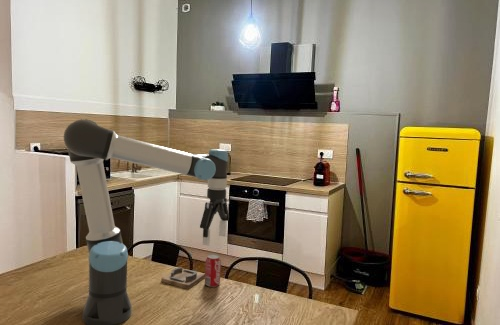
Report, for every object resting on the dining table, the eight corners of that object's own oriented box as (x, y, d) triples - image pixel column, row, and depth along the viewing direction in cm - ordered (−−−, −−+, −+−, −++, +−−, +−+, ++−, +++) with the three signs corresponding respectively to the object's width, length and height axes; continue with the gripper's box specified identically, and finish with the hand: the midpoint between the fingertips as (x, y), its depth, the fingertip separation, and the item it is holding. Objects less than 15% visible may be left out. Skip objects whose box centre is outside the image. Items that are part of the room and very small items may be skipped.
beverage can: (221, 282, 153) (222, 254, 152) (218, 288, 147) (219, 259, 146) (206, 280, 154) (207, 252, 152) (203, 287, 147) (204, 258, 146)
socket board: (205, 277, 157) (205, 269, 157) (188, 288, 145) (189, 280, 145) (179, 271, 162) (179, 263, 162) (161, 281, 150) (161, 274, 150)
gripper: (222, 183, 159) (220, 231, 161) (192, 191, 136) (189, 247, 138) (238, 185, 156) (236, 234, 159) (209, 194, 134) (207, 250, 136)
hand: (214, 240), depth 149 cm, fingers open, 13 cm apart
